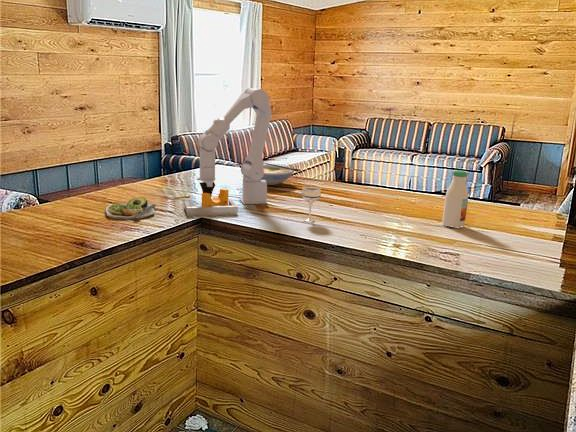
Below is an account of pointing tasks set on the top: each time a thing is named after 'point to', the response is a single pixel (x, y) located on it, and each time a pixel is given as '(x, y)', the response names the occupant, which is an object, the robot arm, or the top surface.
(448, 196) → the milk bottle
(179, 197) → the brass spoon
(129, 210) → the salad plate
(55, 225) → the top surface
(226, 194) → the pipe clamp
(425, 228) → the top surface
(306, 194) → the wineglass
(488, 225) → the top surface
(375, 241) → the top surface
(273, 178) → the ramen bowl
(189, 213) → the hitch bracket
